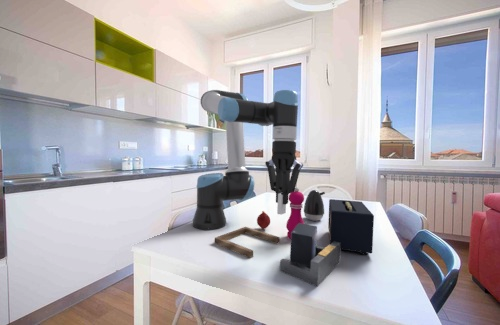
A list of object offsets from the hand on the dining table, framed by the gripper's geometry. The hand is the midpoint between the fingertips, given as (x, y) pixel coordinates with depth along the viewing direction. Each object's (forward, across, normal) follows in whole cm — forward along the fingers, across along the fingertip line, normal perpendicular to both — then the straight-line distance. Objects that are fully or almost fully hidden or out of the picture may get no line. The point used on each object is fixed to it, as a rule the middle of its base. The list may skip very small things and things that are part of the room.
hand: (281, 213), depth 71 cm
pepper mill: (+14, -3, +17) cm, 22 cm away
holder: (+14, -14, 0) cm, 20 cm away
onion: (+14, -18, +16) cm, 28 cm away
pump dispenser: (+14, -8, +46) cm, 49 cm away
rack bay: (+14, +12, 0) cm, 18 cm away
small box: (+14, +8, 0) cm, 16 cm away
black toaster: (+14, +14, +26) cm, 32 cm away
